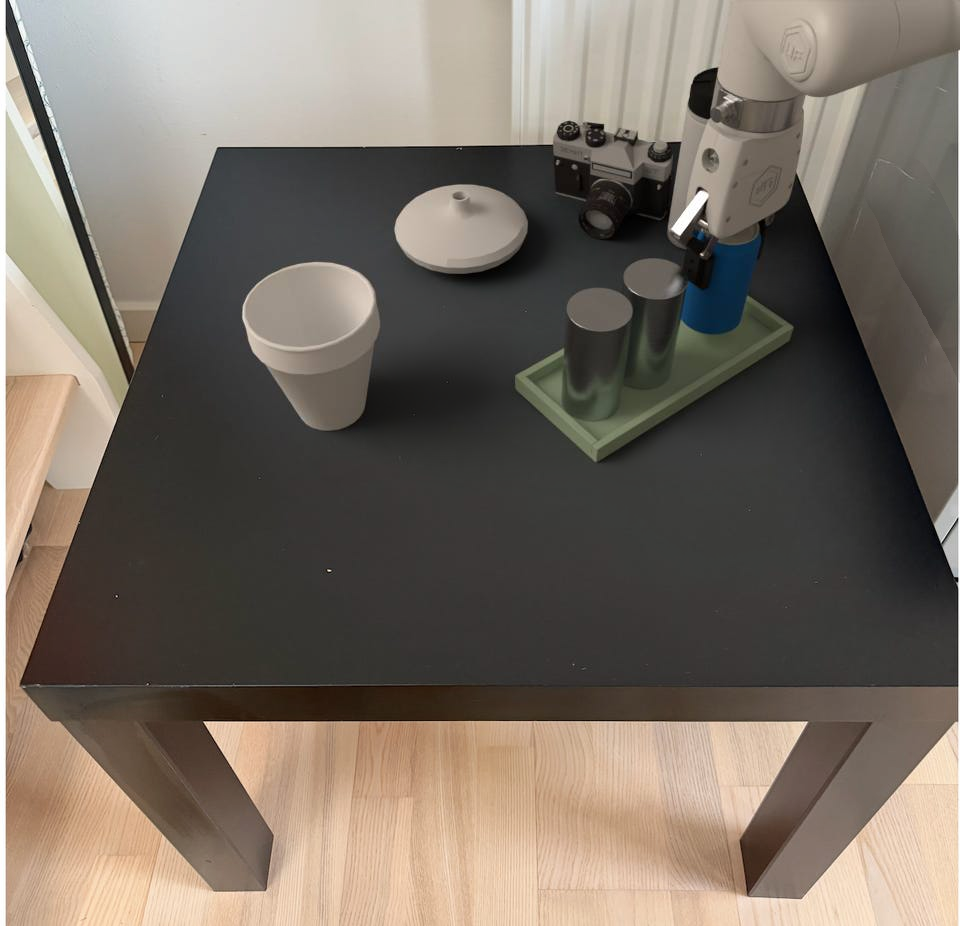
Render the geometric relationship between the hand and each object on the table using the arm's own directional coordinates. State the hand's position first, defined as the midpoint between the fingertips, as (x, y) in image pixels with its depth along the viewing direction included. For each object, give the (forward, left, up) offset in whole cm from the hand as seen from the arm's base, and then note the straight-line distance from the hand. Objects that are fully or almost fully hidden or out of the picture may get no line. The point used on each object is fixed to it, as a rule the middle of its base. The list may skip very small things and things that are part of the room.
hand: (720, 266), depth 91 cm
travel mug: (+13, -12, -9) cm, 20 cm away
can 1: (0, +16, -9) cm, 19 cm away
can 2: (0, +9, -9) cm, 13 cm away
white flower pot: (+16, +37, -9) cm, 42 cm away
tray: (0, +7, -9) cm, 12 cm away
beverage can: (0, 0, -7) cm, 7 cm away
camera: (+23, -6, -9) cm, 26 cm away
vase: (+29, +11, -9) cm, 33 cm away
